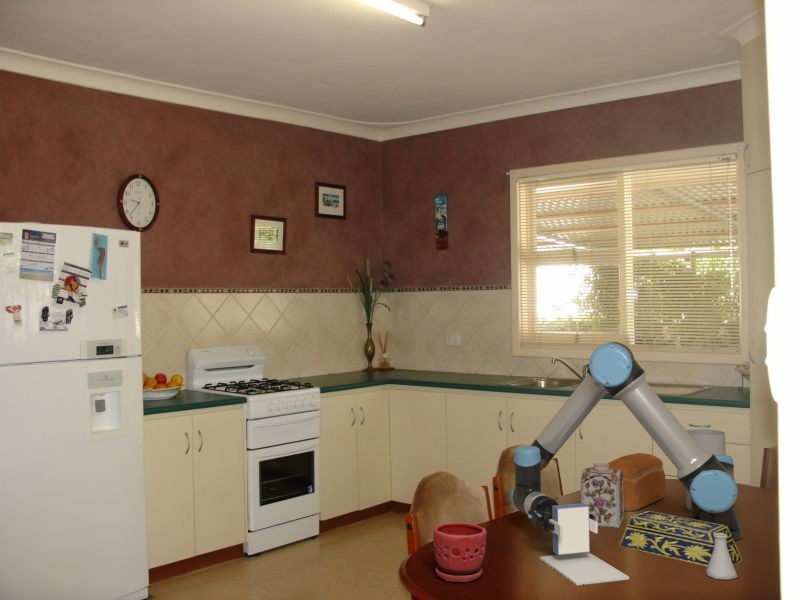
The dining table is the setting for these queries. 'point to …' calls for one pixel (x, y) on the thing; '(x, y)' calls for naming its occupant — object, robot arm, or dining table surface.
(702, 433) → the cylinder vase
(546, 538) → the dining table surface
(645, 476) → the bread
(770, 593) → the dining table surface
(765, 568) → the dining table surface
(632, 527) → the decorative box
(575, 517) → the book
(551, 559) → the mat
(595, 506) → the decorative jar
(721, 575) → the flask
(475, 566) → the plant pot
